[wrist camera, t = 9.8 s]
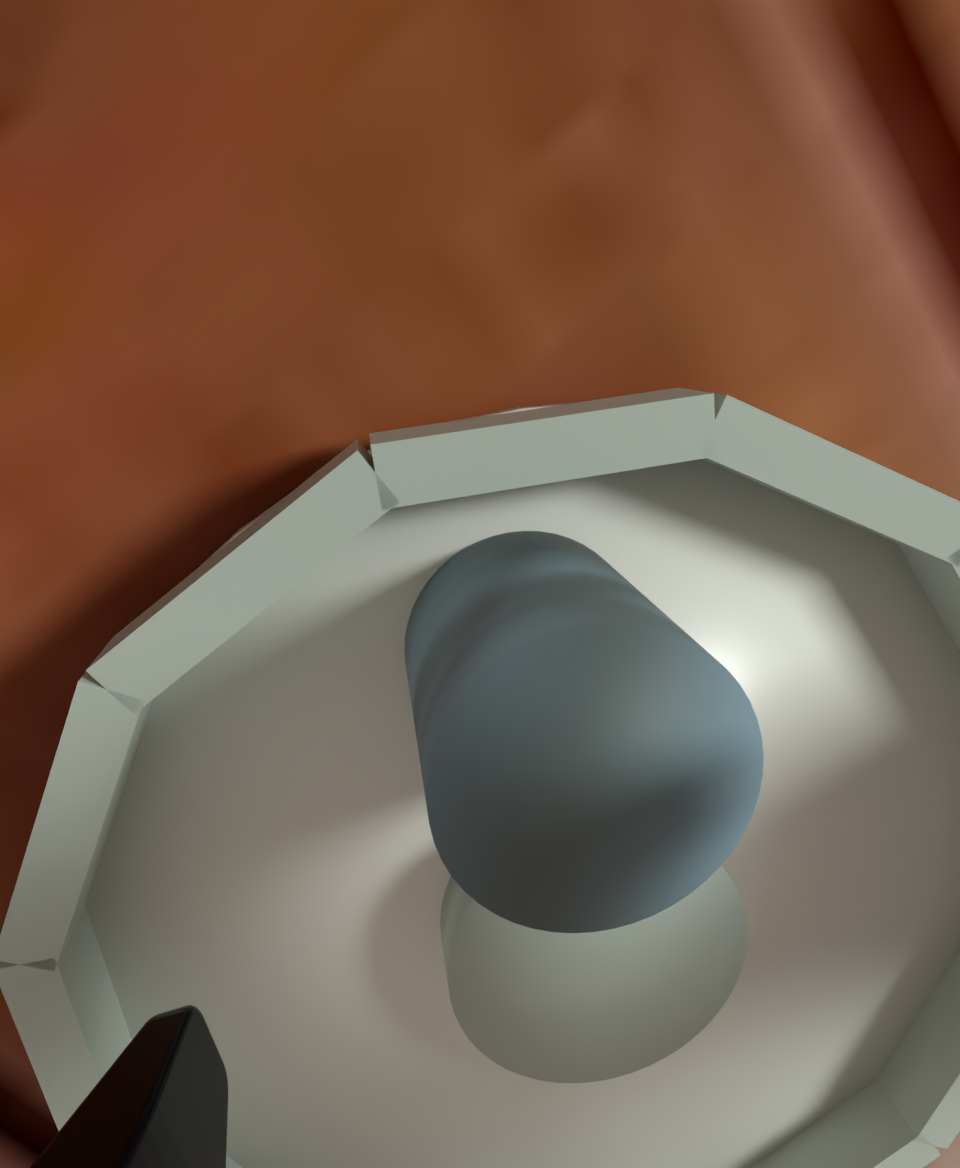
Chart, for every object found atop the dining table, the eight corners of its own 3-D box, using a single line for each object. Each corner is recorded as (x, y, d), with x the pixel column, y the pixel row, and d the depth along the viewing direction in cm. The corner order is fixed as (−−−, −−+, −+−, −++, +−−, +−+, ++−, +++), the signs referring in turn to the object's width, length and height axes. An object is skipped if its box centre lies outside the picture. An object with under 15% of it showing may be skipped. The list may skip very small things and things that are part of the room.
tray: (1173, 613, 18) (1286, 651, 16) (749, 1274, 22) (792, 1375, 20) (256, 198, 13) (235, 169, 10) (-49, 1165, 17) (-107, 1284, 15)
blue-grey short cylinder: (673, 578, 15) (822, 689, 10) (579, 776, 16) (672, 962, 11) (457, 495, 14) (510, 576, 9) (370, 713, 15) (375, 890, 10)
